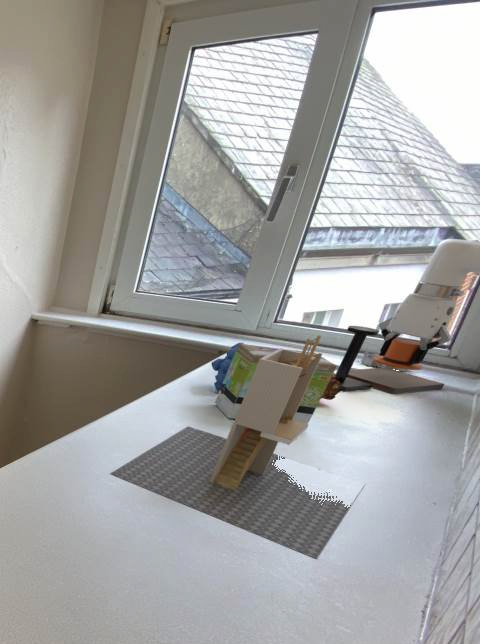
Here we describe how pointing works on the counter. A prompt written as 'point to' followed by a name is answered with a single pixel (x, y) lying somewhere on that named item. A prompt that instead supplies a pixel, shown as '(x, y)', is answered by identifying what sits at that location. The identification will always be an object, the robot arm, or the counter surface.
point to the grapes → (223, 366)
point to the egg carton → (368, 361)
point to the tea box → (244, 371)
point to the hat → (400, 354)
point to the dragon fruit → (332, 389)
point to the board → (393, 380)
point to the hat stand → (353, 359)
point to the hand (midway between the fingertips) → (398, 358)
